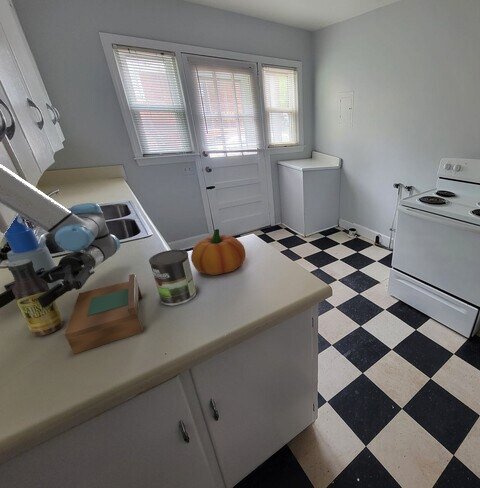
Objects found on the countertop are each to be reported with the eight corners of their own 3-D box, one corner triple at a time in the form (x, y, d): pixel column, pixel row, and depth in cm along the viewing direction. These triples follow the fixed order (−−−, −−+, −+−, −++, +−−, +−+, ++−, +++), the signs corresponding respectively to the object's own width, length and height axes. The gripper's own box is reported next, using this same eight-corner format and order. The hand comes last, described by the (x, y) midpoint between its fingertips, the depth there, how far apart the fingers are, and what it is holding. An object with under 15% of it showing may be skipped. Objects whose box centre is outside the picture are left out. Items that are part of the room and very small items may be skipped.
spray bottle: (70, 280, 95) (39, 212, 85) (51, 295, 87) (15, 221, 77) (41, 282, 93) (6, 213, 83) (19, 297, 85) (-22, 223, 75)
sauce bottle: (33, 341, 68) (-5, 272, 60) (32, 329, 72) (-5, 263, 64) (68, 328, 72) (36, 262, 64) (64, 317, 76) (34, 254, 68)
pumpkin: (182, 274, 98) (172, 236, 92) (216, 253, 115) (210, 219, 109) (226, 283, 93) (219, 243, 87) (256, 259, 109) (252, 224, 103)
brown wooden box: (74, 354, 64) (60, 327, 61) (86, 310, 79) (76, 287, 76) (143, 331, 71) (134, 307, 68) (142, 295, 86) (135, 273, 83)
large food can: (177, 309, 80) (166, 267, 74) (153, 301, 83) (140, 261, 78) (204, 290, 89) (195, 252, 83) (180, 284, 92) (170, 247, 86)
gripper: (123, 269, 87) (74, 313, 67) (46, 274, 84) (-30, 321, 64) (116, 248, 84) (62, 287, 64) (36, 253, 81) (-47, 295, 61)
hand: (16, 304), depth 64 cm, fingers open, 10 cm apart
